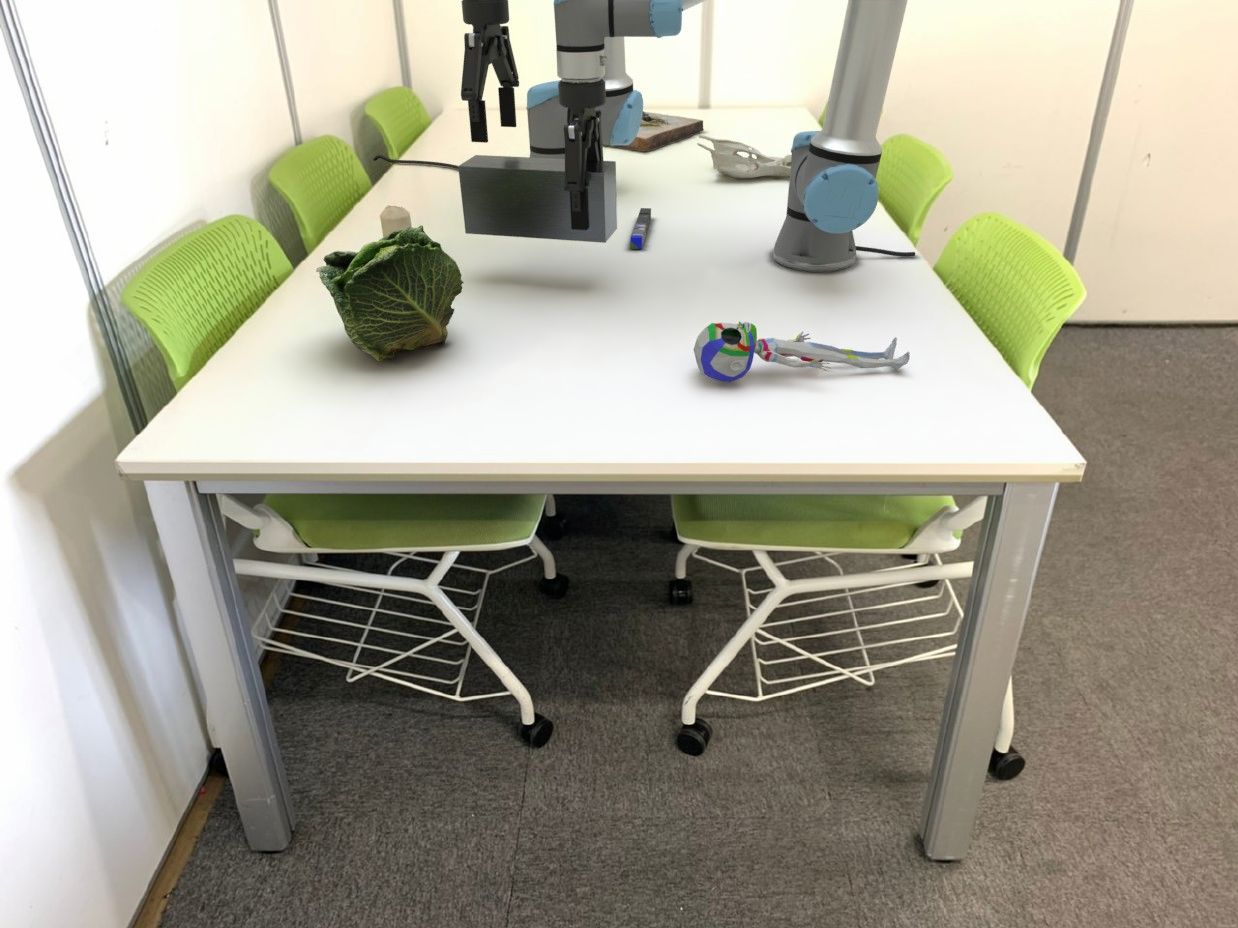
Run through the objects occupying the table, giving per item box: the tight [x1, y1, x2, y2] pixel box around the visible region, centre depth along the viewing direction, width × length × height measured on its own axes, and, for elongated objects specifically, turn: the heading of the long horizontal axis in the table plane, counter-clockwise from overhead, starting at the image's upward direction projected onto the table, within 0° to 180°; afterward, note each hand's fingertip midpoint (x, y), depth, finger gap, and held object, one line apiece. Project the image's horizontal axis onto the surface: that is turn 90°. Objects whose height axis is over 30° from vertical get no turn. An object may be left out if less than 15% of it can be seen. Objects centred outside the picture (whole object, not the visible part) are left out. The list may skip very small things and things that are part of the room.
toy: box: [692, 321, 911, 383], centre depth 128 cm, size 10×8×30 cm
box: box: [457, 154, 618, 244], centre depth 154 cm, size 25×8×12 cm, turn 76°
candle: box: [379, 205, 412, 238], centre depth 170 cm, size 6×6×10 cm
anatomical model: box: [696, 134, 792, 179], centre depth 218 cm, size 15×9×25 cm
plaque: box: [602, 110, 705, 152], centre depth 257 cm, size 30×7×30 cm
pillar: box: [630, 207, 652, 250], centre depth 183 cm, size 2×2×20 cm
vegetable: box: [315, 224, 465, 362], centre depth 134 cm, size 20×19×20 cm
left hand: (494, 134), depth 156 cm, fingers open, 13 cm apart
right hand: (586, 221), depth 154 cm, fingers closed on box, 8 cm apart
